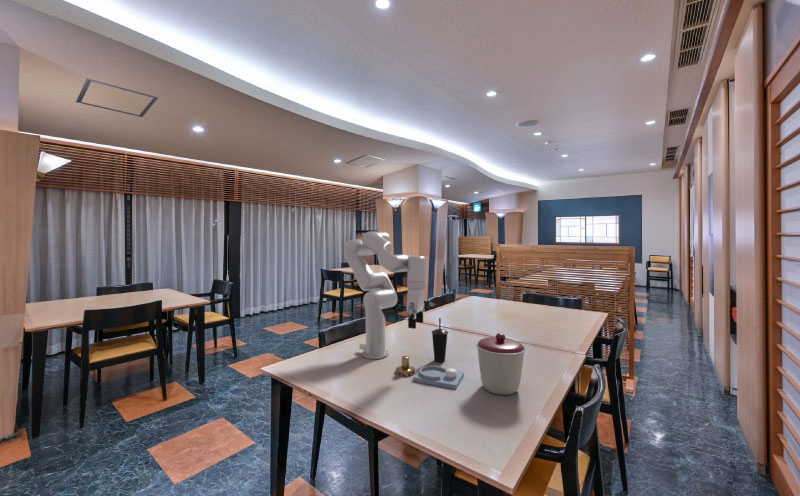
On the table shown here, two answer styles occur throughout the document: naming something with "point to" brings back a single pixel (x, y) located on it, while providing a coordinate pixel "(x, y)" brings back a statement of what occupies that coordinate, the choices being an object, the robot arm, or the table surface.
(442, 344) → the drinking cup
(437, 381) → the carrier plate
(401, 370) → the bronze gear
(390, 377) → the table surface
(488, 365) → the canister
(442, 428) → the table surface
